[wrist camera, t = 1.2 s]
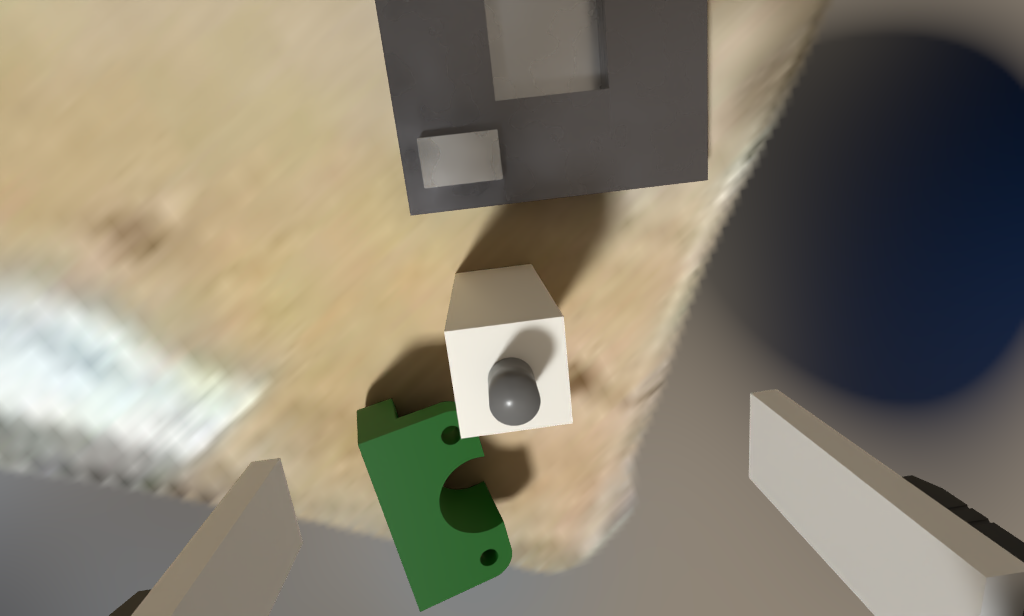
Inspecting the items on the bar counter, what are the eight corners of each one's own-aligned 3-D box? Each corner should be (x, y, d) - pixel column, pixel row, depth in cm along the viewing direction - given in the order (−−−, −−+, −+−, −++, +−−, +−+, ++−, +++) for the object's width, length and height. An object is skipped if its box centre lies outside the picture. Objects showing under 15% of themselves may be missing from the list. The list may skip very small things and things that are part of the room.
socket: (359, -127, 23) (345, -164, 21) (688, -157, 24) (714, -197, 21) (415, 212, 28) (409, 216, 25) (691, 179, 28) (713, 180, 26)
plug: (455, 273, 29) (440, 350, 16) (531, 263, 29) (573, 333, 17) (466, 344, 30) (459, 467, 18) (538, 335, 30) (583, 450, 18)
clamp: (473, 464, 37) (519, 579, 31) (396, 495, 36) (426, 623, 29) (445, 350, 30) (497, 468, 23) (346, 383, 28) (371, 520, 22)
